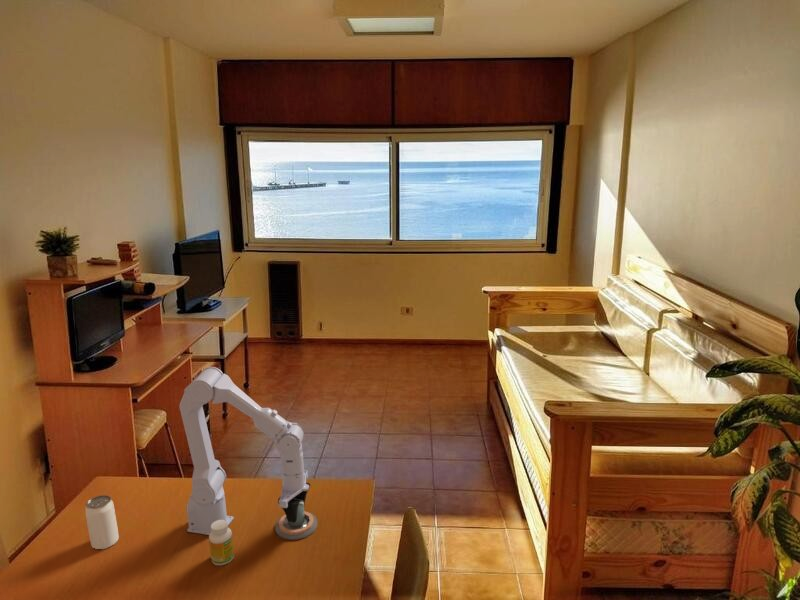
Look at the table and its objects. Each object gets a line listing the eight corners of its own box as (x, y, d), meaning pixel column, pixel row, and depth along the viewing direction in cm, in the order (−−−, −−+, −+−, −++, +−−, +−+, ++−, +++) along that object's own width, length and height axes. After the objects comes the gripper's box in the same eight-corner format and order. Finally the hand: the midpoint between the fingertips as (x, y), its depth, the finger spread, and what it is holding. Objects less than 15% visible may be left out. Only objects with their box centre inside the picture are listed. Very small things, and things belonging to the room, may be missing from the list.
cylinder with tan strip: (285, 525, 152) (283, 506, 151) (291, 515, 157) (289, 496, 155) (301, 527, 152) (300, 507, 150) (307, 516, 156) (306, 498, 154)
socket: (268, 536, 151) (268, 531, 150) (285, 511, 161) (285, 506, 160) (308, 542, 148) (307, 537, 148) (323, 516, 158) (322, 511, 158)
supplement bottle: (227, 567, 140) (224, 533, 137) (207, 564, 141) (203, 530, 138) (238, 552, 145) (234, 519, 142) (218, 549, 146) (214, 516, 143)
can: (124, 537, 151) (118, 497, 147) (103, 553, 145) (96, 512, 142) (107, 531, 153) (100, 491, 150) (85, 546, 148) (78, 505, 144)
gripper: (296, 487, 142) (299, 534, 146) (317, 457, 156) (319, 501, 160) (269, 484, 144) (273, 531, 147) (293, 454, 158) (295, 498, 161)
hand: (295, 515), depth 154 cm, fingers closed on cylinder with tan strip, 4 cm apart
